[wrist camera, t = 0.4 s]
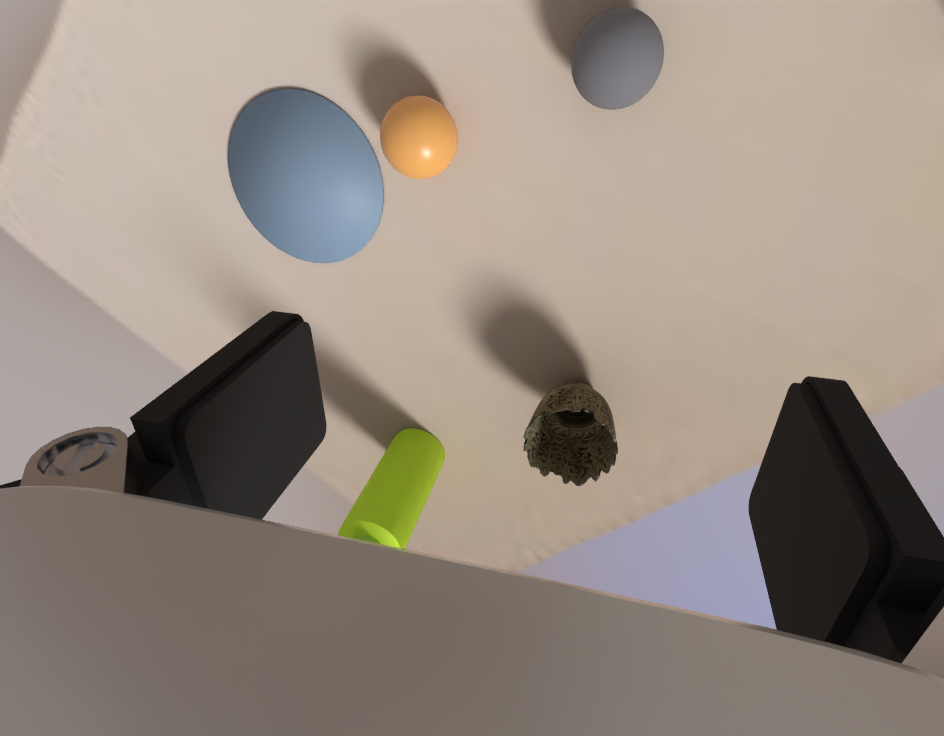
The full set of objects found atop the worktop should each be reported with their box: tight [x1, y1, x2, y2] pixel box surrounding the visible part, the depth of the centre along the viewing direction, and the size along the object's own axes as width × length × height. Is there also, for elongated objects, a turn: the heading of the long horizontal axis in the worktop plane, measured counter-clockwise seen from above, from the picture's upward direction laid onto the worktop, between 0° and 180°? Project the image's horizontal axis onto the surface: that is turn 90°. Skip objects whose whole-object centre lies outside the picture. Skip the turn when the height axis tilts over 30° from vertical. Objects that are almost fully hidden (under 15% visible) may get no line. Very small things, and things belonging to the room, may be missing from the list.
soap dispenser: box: [338, 428, 445, 549], centre depth 50 cm, size 6×7×20 cm
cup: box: [524, 381, 618, 486], centre depth 47 cm, size 8×7×8 cm
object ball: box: [380, 95, 458, 179], centre depth 39 cm, size 6×6×6 cm
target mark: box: [228, 89, 384, 263], centre depth 46 cm, size 14×14×1 cm
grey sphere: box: [571, 7, 664, 110], centre depth 34 cm, size 6×6×6 cm
